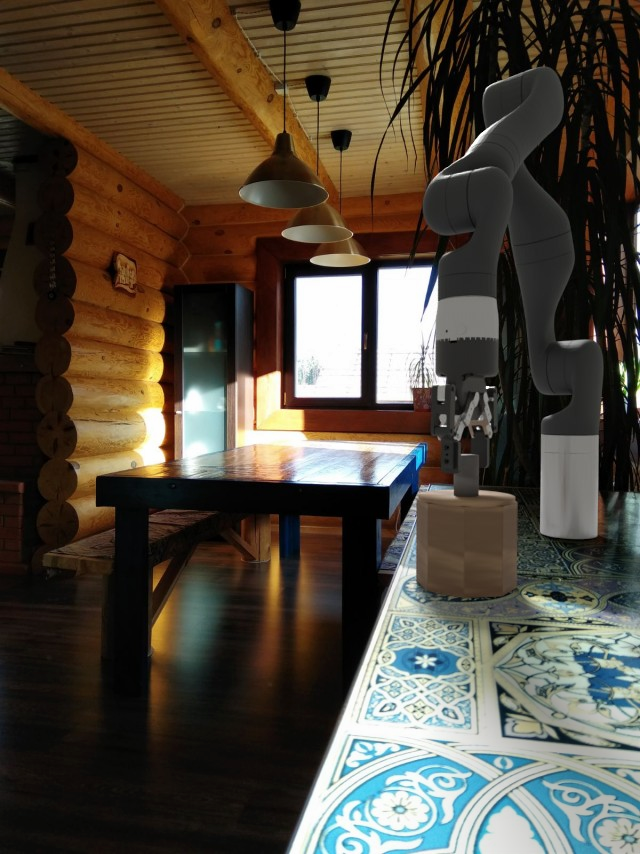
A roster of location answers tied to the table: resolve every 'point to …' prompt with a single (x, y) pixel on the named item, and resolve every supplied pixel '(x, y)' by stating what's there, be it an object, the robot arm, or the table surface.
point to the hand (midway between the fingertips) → (465, 470)
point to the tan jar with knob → (466, 538)
